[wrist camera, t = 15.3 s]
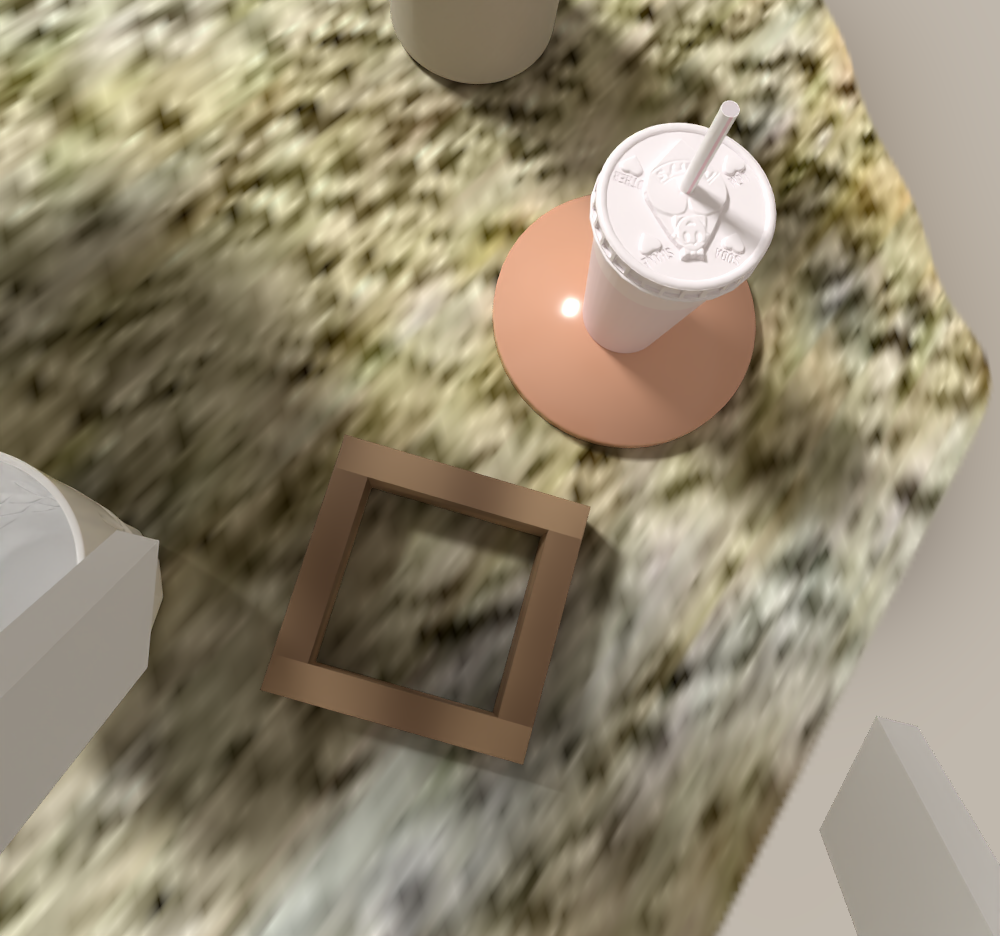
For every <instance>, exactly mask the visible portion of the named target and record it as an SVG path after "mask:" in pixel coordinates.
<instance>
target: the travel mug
mask: <svg viewBox="0 0 1000 936" xmlns="http://www.w3.org/2000/svg"><path fill="white" fill-rule="evenodd" d="M558 4H559V0H390V12H391V20H392V24H393V27H394V30H395V33H396V35H397V37H398V39H399V41H400V42H401V44H402V46H403V47H404V48H405V50H406V51H407V52H408V53H409V54H410V55H411V57H412V58H413V59H415V60H416V61H417V62H418V63H419V64H420V65H422V66H423V67H425V68H426V69H428V70H429V71H431V72H433V73H435V74H437V75H439V76H441V77H444V78H446V79H449V80H453V81H456V82H462V83H469V84H486V83H494V82H498V81H502V80H506V79H508V78H511V77H513V76H515V75H517V74H519V73H521V72H523V71H524V70H526V69H527V68H528V67H530V66H531V65H532V64H533V63H534V62H535V61H536V60H537V59H538V58H539V57H540V56H541V55H542V53H543V52H544V50H545V49H546V47H547V45H548V43H549V41H550V38H551V35H552V32H553V28H554V23H555V18H556V14H557V9H558Z"/></svg>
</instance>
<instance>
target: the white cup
mask: <svg viewBox="0 0 1000 936" xmlns="http://www.w3.org/2000/svg"><path fill="white" fill-rule="evenodd" d="M116 530H118V531H123V532H127V533H131V534H135V535H139V536H143V535H142V534H141V532H140V531H139V530H137V529H136V528H134V527H132V526H130V525H128V524H127V523H125V522H123V521H121V520H120V519H119V518H118V517H117V516H115V515H114V514H113V513H112V512H111V511H110V510H108V509H107V508H105V507H103V506H102V505H100V504H99V503H97V502H95V501H94V500H92V499H91V498H89V497H87V496H86V495H84V494H83V493H81V492H80V491H78V490H76V489H74V488H72V487H70V486H68V485H66V484H64V483H62V482H60V481H58V480H56V479H54V478H53V477H51V476H49V475H48V474H46V473H44V472H42V471H40V470H38V469H37V468H35V467H33V466H31V465H29V464H27V463H26V462H24V461H22V460H20V459H18V458H16V457H13V456H11V455H8V454H5V453H3V452H0V632H1V631H2V630H4V629H5V628H6V627H7V626H8V625H9V624H10V623H12V622H13V621H14V620H15V619H16V618H17V617H18V616H20V615H21V614H22V613H23V612H24V611H25V610H26V609H27V608H29V607H30V606H31V605H32V604H33V603H34V602H35V601H37V600H38V599H39V598H40V597H41V596H42V595H43V594H45V593H46V592H47V591H48V590H49V589H50V588H51V587H53V586H54V585H55V584H56V583H57V582H58V581H59V580H61V579H62V578H63V577H64V576H65V575H66V574H67V573H68V572H70V571H71V570H72V569H73V568H74V567H75V566H76V565H78V564H79V563H80V562H81V561H82V560H83V559H84V558H86V557H87V556H88V555H89V554H90V553H91V552H92V551H94V550H95V549H96V548H97V547H98V546H99V545H100V544H102V543H103V542H104V541H105V540H106V539H107V538H108V537H110V536H111V535H112V534H113V533H114V532H115V531H116ZM162 599H163V590H162V581H161V572H160V562H159V559H158V560H157V571H156V582H155V592H154V603H153V614H152V625H151V630H152V627H153V624H154V621H155V619H156V616H157V613H158V610H159V607H160V605H161V602H162Z"/></svg>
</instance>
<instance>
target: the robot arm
mask: <svg viewBox="0 0 1000 936" xmlns="http://www.w3.org/2000/svg"><path fill="white" fill-rule="evenodd" d="M158 550H159V540H155V539H151V538H147V537H143V536H139V535H135V534H131V533H127V532H123V531H118V530H116V531H115V532H114V533H113V534H112V535H111V536H110V537H108V538H107V539H106V540H105V541H104V542H103V543H102V544H100V545H99V546H98V547H97V548H96V549H95V550H94V551H92V552H91V553H90V554H89V555H88V556H87V557H86V558H84V559H83V560H82V561H81V562H80V563H79V564H78V565H76V566H75V567H74V568H73V569H72V570H71V571H70V572H68V573H67V574H66V575H65V576H64V577H63V578H62V579H61V580H59V581H58V582H57V583H56V584H55V585H54V586H53V587H51V588H50V589H49V590H48V591H47V592H46V593H45V594H43V595H42V596H41V597H40V598H39V599H38V600H37V601H35V602H34V603H33V604H32V605H31V606H30V607H29V608H27V609H26V610H25V611H24V612H23V613H22V614H21V615H20V616H18V617H17V618H16V619H15V620H14V621H13V622H12V623H10V624H9V625H8V626H7V627H6V628H5V629H4V630H2V631H1V632H0V854H1V853H2V852H3V851H4V849H5V848H6V847H7V845H8V844H9V843H10V842H11V840H12V839H13V838H14V837H15V835H16V834H17V833H18V831H19V830H20V829H21V828H22V826H23V825H24V824H25V823H26V821H27V820H28V819H29V818H30V816H31V815H32V814H33V812H34V811H35V810H36V809H37V807H38V806H39V805H40V804H41V802H42V801H43V800H44V798H45V797H46V796H47V795H48V793H49V792H50V791H51V790H52V788H53V787H54V786H55V784H56V783H57V782H58V781H59V779H60V778H61V777H62V776H63V774H64V773H65V772H66V771H67V769H68V768H69V767H70V765H71V764H72V763H73V762H74V760H75V759H76V758H77V757H78V755H79V754H80V753H81V751H82V750H83V749H84V748H85V746H86V745H87V744H88V743H89V741H90V740H91V739H92V737H93V736H94V735H95V734H96V732H97V731H98V730H99V729H100V727H101V726H102V725H103V724H104V722H105V721H106V720H107V718H108V717H109V716H110V715H111V713H112V712H113V711H114V710H115V708H116V707H117V706H118V704H119V703H120V702H121V701H122V699H123V698H124V697H125V696H126V694H127V693H128V692H129V690H130V689H131V688H132V687H133V685H134V684H135V683H136V682H137V680H138V679H139V678H140V677H141V675H142V674H143V673H144V671H145V670H146V669H147V667H148V657H149V646H150V635H151V625H152V614H153V603H154V592H155V582H156V571H157V560H158ZM820 833H821V836H822V838H823V841H824V844H825V846H826V849H827V852H828V855H829V858H830V860H831V863H832V866H833V869H834V871H835V874H836V877H837V880H838V883H839V885H840V888H841V891H842V893H843V896H844V899H845V902H846V905H847V907H848V910H849V913H850V916H851V918H852V921H853V924H854V926H855V929H856V932H857V935H858V936H1000V864H999V862H998V861H997V859H996V857H995V856H994V854H993V852H992V851H991V849H990V847H989V846H988V844H987V842H986V840H985V839H984V837H983V835H982V834H981V832H980V830H979V829H978V827H977V825H976V824H975V822H974V820H973V818H972V817H971V815H970V813H969V812H968V810H967V808H966V807H965V805H964V803H963V802H962V800H961V798H960V797H959V795H958V793H957V792H956V790H955V788H954V786H953V785H952V783H951V781H950V780H949V778H948V776H947V775H946V773H945V771H944V770H943V768H942V766H941V765H940V763H939V761H938V760H937V758H936V756H935V755H934V753H933V751H932V750H931V748H930V746H929V744H928V743H927V741H926V739H925V738H924V736H923V734H922V733H921V731H920V729H919V728H918V726H915V725H911V724H907V723H903V722H899V721H894V720H891V719H887V718H882V717H878V716H876V718H875V720H874V722H873V724H872V726H871V728H870V730H869V732H868V734H867V736H866V738H865V740H864V742H863V744H862V746H861V748H860V750H859V752H858V754H857V756H856V758H855V760H854V762H853V764H852V766H851V768H850V770H849V772H848V774H847V776H846V778H845V780H844V782H843V784H842V786H841V788H840V790H839V792H838V795H837V796H836V798H835V800H834V802H833V804H832V806H831V808H830V810H829V812H828V814H827V816H826V818H825V821H824V822H823V824H822V826H821V828H820Z"/></svg>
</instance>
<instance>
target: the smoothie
mask: <svg viewBox="0 0 1000 936" xmlns="http://www.w3.org/2000/svg"><path fill="white" fill-rule="evenodd" d="M739 111H740V109H739V106H738V104H737V103H735V102H734V101H725V102H724V103H723V104H722V106H721V107H720V109H719V111H718V113H717V115H716V117H715V118H714V120H713V122H712V124H711V126H710V128H707V127H704V126H700V125H696V124H689V123H666V124H659V125H655V126H651V127H648V128H645V129H643V130H641V131H639V132H636V133H635V134H633V135H631V136H630V137H628V138H627V139H625V140H624V141H623V142H622V143H621V144H619V145H618V146H617V147H616V148H615V150H614V151H613V152H612V153H611V154H610V156H609V157H608V159H607V160H606V162H605V164H604V166H603V168H602V170H601V172H600V174H599V175H598V177H597V180H596V183H595V186H594V188H593V191H592V194H591V200H590V222H591V227H592V231H593V235H594V237H593V243H592V250H591V257H590V263H589V270H588V276H587V283H586V290H585V296H584V303H583V321H584V324H585V327H586V329H587V331H588V333H589V334H590V336H591V337H592V338H593V339H594V340H595V341H596V342H597V343H598V344H599V345H601V346H602V347H604V348H606V349H608V350H610V351H613V352H617V353H634V352H638V351H640V350H643V349H645V348H646V347H648V346H649V345H651V344H652V343H653V342H654V341H656V340H657V339H658V338H659V337H661V336H662V335H663V334H664V333H666V332H667V331H668V330H670V329H671V328H672V327H673V326H675V325H676V324H677V323H678V322H680V321H681V320H682V319H683V318H685V317H686V316H687V315H689V314H690V313H691V312H692V311H694V310H695V309H696V308H697V307H699V306H700V305H701V304H702V303H704V302H705V301H706V300H712V299H715V298H717V297H719V296H721V295H724V294H726V293H728V292H731V291H733V290H734V289H735V288H737V287H738V286H739V285H740V284H741V283H743V282H744V281H745V280H746V279H747V278H749V277H750V276H751V274H752V273H753V271H754V270H755V268H756V267H757V265H758V264H759V262H760V261H761V259H762V258H763V256H764V255H765V253H766V252H767V250H768V248H769V246H770V243H771V241H772V238H773V235H774V230H775V224H776V204H775V199H774V194H773V191H772V188H771V185H770V183H769V180H768V178H767V176H766V174H765V173H764V171H763V169H762V168H761V166H760V165H759V164H758V162H757V161H756V160H755V158H754V157H753V156H752V155H751V154H750V153H749V152H748V151H747V150H746V149H745V148H743V147H742V146H741V145H740V144H738V143H737V142H736V141H734V140H733V139H731V138H730V137H728V136H726V135H727V133H728V131H729V130H730V128H731V126H732V124H733V123H734V121H735V119H736V117H737V116H738V114H739Z"/></svg>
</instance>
